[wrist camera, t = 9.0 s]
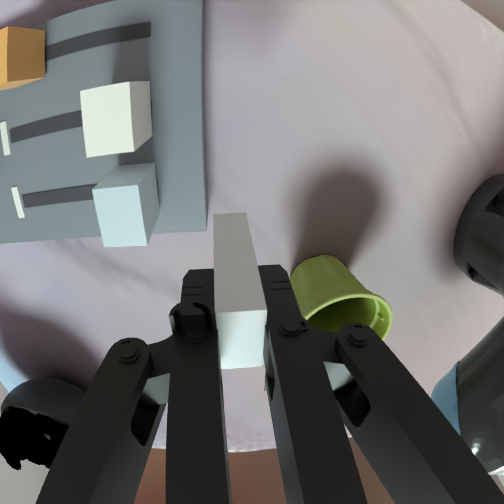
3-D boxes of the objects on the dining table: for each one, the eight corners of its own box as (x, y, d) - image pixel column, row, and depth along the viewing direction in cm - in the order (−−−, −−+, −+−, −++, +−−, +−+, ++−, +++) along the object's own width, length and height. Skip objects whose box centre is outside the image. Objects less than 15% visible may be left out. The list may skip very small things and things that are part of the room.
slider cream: (149, 81, 17) (129, 81, 13) (152, 135, 20) (134, 151, 15) (109, 87, 17) (80, 90, 13) (113, 140, 19) (86, 157, 15)
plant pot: (305, 223, 28) (335, 279, 21) (374, 258, 31) (411, 311, 24) (257, 295, 32) (269, 359, 25) (326, 318, 35) (348, 376, 28)
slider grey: (154, 162, 21) (137, 185, 16) (160, 212, 23) (147, 245, 18) (116, 166, 20) (92, 189, 16) (123, 214, 22) (104, 247, 18)
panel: (204, -2, 17) (201, -15, 14) (207, 215, 27) (206, 235, 24) (-28, 64, 15) (-50, 68, 12) (-1, 231, 25) (-18, 248, 22)
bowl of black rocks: (132, 426, 47) (124, 515, 31) (40, 405, 43) (20, 484, 27) (116, 365, 37) (93, 491, 21) (3, 339, 33) (-40, 438, 17)
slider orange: (45, 30, 14) (8, 25, 9) (45, 77, 16) (7, 82, 11) (16, 42, 13) (-23, 42, 9) (16, 87, 15) (-22, 95, 11)
